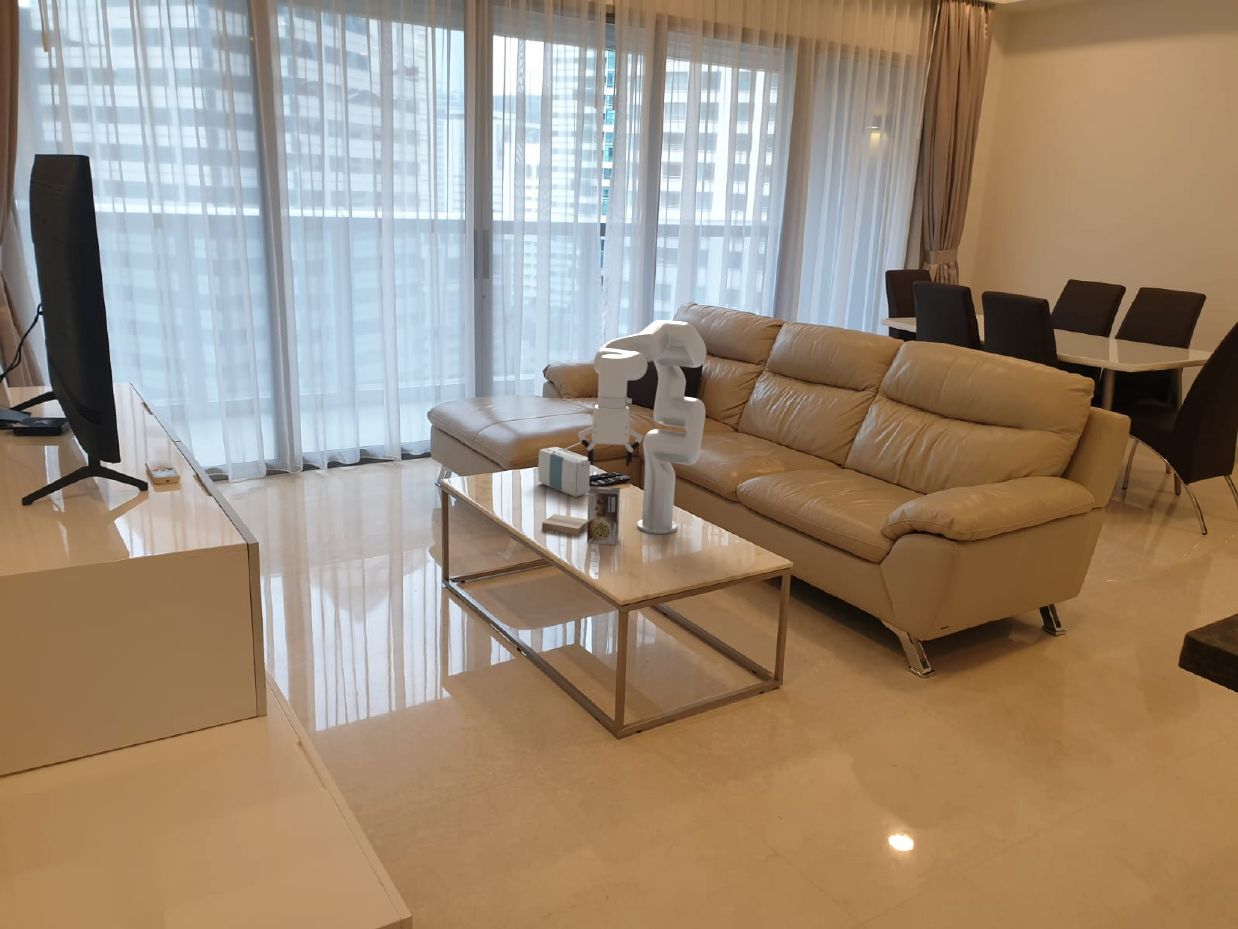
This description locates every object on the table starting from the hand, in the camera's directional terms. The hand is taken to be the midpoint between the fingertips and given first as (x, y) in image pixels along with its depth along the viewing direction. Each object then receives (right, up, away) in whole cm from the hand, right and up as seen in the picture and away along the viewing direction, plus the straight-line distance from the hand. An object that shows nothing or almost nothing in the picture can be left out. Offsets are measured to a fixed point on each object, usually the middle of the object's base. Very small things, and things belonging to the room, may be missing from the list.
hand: (609, 464), depth 242 cm
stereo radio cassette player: (-17, -9, +78) cm, 80 cm away
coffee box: (-2, -23, +29) cm, 37 cm away
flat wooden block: (-14, -20, +38) cm, 45 cm away
